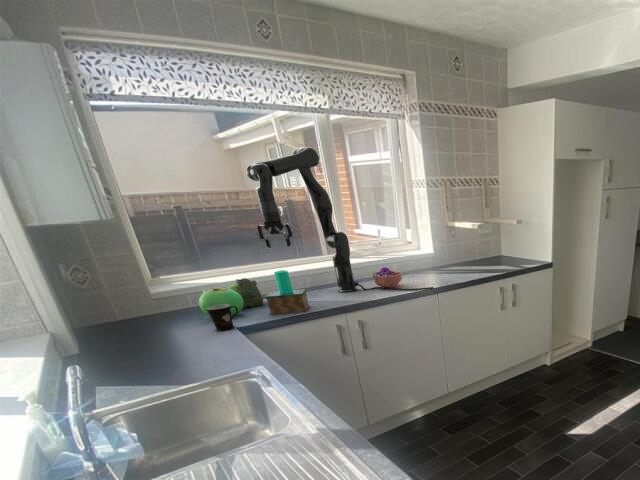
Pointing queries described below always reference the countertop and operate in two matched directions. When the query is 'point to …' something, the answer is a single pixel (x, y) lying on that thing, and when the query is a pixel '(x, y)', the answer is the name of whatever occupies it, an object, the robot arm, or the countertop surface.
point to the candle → (283, 282)
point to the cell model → (387, 278)
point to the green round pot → (221, 299)
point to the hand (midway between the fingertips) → (279, 247)
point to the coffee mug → (222, 316)
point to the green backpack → (249, 292)
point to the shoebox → (287, 302)
